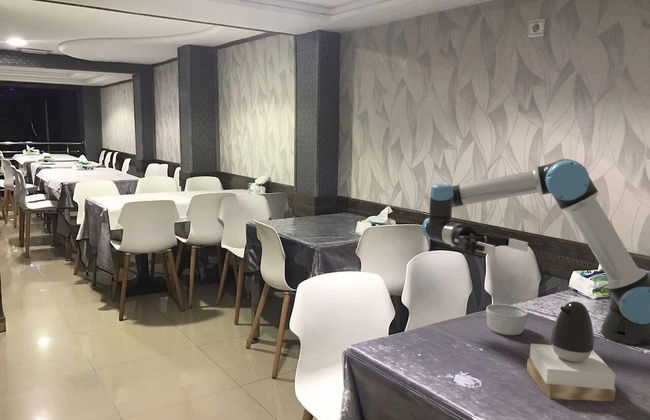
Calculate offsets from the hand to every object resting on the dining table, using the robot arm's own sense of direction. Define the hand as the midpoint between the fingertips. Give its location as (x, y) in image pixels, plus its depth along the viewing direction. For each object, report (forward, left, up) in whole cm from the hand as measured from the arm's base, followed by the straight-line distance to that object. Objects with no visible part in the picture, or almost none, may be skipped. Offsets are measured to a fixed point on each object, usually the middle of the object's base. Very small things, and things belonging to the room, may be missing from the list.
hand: (510, 248), depth 152 cm
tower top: (-11, +19, -29) cm, 36 cm away
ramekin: (-7, -20, -32) cm, 39 cm away
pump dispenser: (-11, +19, -25) cm, 33 cm away
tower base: (-11, +19, -33) cm, 39 cm away
